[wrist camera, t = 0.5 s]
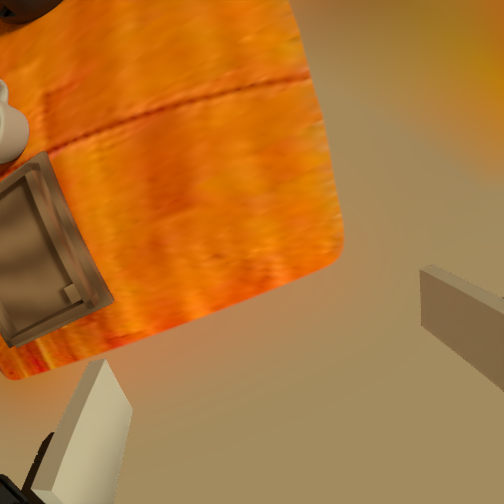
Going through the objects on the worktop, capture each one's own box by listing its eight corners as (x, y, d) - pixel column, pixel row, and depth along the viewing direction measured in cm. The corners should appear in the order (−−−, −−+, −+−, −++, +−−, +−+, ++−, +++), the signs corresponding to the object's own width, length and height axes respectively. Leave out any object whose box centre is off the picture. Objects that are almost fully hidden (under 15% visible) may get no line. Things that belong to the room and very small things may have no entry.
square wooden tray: (-40, 219, 31) (-55, 223, 28) (46, 151, 32) (32, 150, 28) (20, 344, 36) (9, 356, 33) (114, 299, 37) (106, 311, 33)
